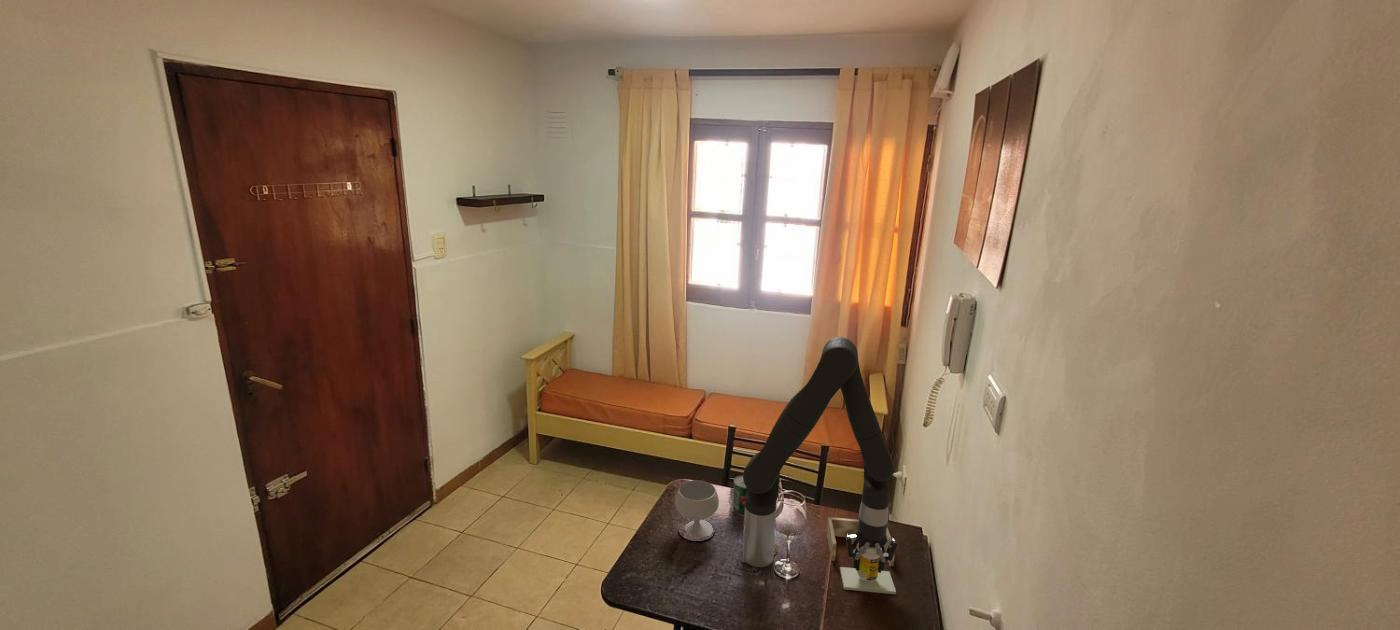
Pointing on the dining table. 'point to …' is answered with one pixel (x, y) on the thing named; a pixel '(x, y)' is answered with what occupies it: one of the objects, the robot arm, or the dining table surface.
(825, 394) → the robot arm
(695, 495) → the chalice
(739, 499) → the canned tomato
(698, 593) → the dining table surface
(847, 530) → the cubby
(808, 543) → the dining table surface
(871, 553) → the supplement bottle
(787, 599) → the dining table surface
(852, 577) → the mat
